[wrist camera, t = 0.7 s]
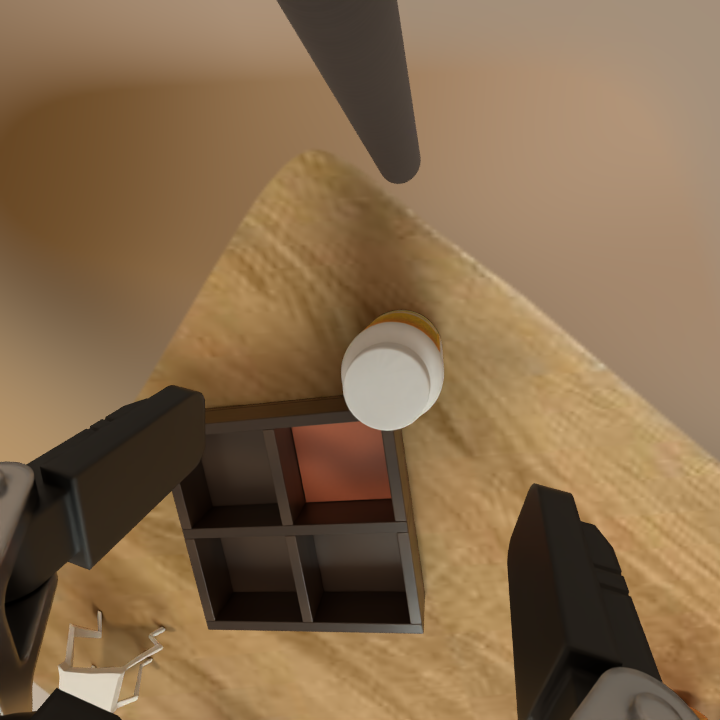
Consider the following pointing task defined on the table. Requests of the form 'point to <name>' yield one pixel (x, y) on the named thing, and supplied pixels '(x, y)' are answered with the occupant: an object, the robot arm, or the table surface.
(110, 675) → the white quadruped model
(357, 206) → the table surface
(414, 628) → the grid
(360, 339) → the supplement bottle
